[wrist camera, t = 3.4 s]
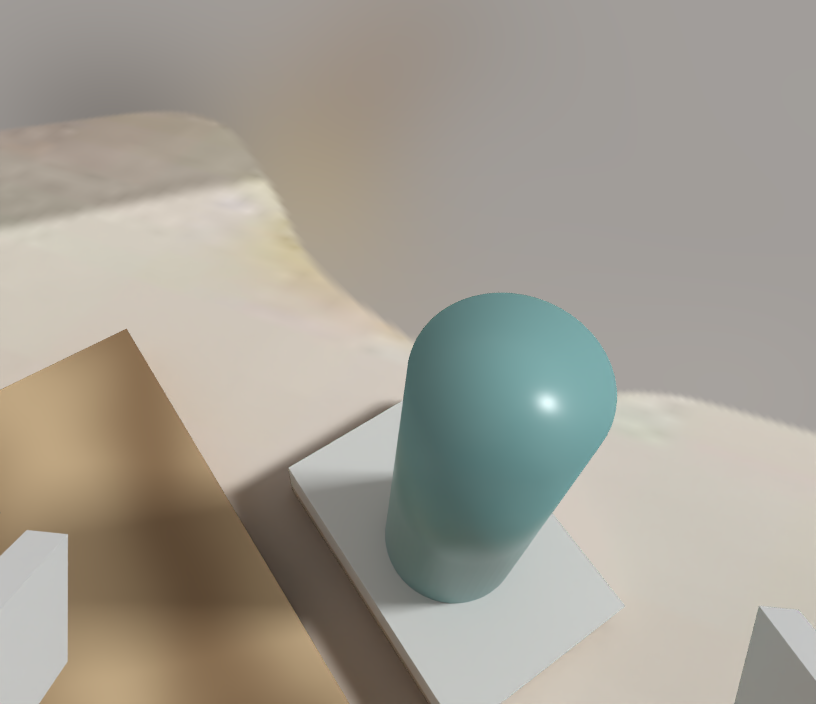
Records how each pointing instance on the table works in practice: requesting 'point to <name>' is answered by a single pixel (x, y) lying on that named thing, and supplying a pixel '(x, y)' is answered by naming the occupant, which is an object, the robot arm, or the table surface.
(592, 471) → the table surface
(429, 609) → the teal cylinder on base
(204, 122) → the table surface
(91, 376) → the board
